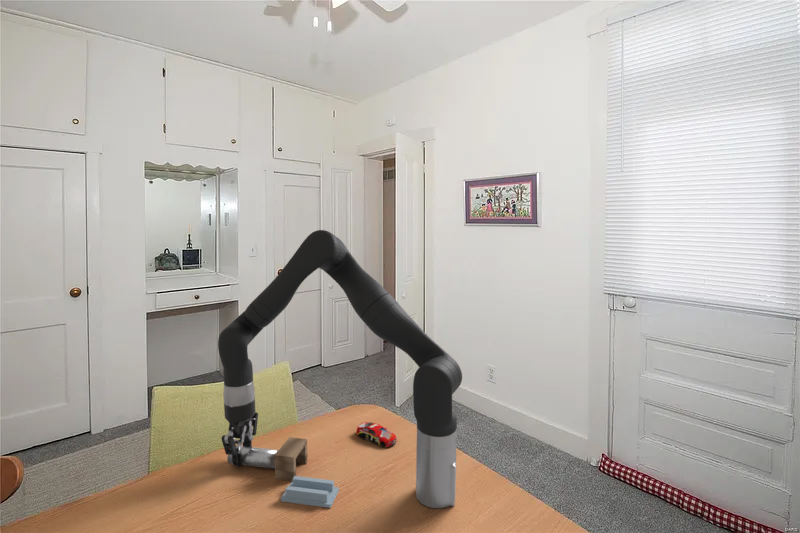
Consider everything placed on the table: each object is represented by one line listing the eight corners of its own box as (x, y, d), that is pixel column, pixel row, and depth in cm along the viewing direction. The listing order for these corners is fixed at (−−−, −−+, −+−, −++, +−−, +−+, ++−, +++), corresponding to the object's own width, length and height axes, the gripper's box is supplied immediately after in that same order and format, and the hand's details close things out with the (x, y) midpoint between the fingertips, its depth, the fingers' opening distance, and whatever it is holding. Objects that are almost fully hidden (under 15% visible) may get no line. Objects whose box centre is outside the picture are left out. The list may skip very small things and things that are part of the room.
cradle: (338, 490, 99) (338, 479, 98) (330, 507, 93) (330, 496, 93) (291, 484, 101) (291, 474, 100) (280, 501, 95) (280, 490, 95)
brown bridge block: (307, 461, 110) (306, 439, 109) (294, 481, 102) (293, 457, 101) (289, 459, 111) (289, 437, 110) (275, 479, 103) (274, 455, 102)
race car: (400, 442, 120) (400, 430, 120) (388, 451, 116) (389, 438, 115) (365, 428, 128) (365, 416, 127) (354, 436, 123) (353, 423, 123)
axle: (282, 461, 109) (281, 446, 109) (274, 472, 105) (273, 456, 104) (237, 456, 112) (236, 441, 111) (227, 466, 107) (226, 451, 107)
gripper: (241, 386, 114) (244, 443, 116) (209, 410, 100) (213, 475, 102) (266, 388, 113) (268, 446, 115) (237, 412, 99) (240, 478, 101)
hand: (242, 459), depth 109 cm, fingers closed on axle, 4 cm apart
